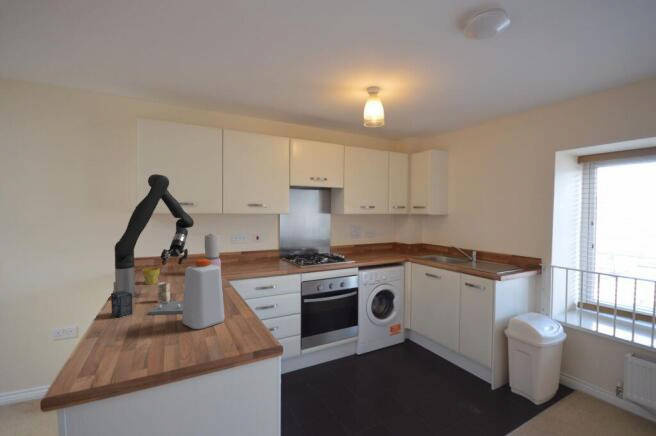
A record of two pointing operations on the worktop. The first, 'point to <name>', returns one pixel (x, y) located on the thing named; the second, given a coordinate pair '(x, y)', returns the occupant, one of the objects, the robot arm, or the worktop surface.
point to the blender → (213, 248)
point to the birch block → (163, 291)
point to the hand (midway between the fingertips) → (171, 264)
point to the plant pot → (151, 275)
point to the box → (121, 303)
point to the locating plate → (168, 308)
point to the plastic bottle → (203, 295)
